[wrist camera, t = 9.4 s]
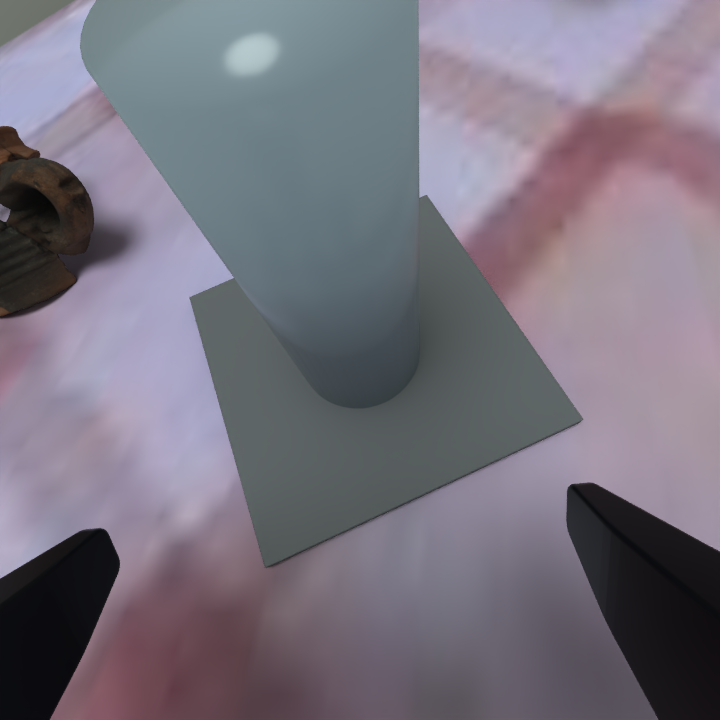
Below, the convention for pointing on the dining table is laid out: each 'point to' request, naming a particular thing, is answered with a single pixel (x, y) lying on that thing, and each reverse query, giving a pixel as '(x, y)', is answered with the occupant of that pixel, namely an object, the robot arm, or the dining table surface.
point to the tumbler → (288, 163)
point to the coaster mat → (381, 422)
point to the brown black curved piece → (38, 224)
